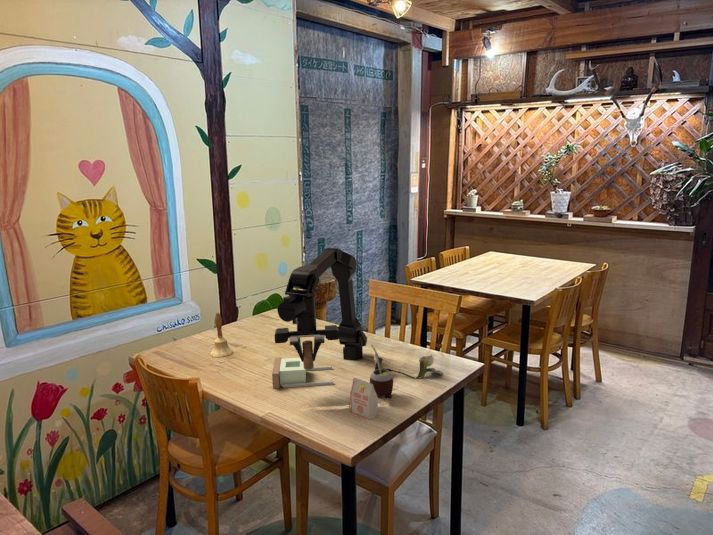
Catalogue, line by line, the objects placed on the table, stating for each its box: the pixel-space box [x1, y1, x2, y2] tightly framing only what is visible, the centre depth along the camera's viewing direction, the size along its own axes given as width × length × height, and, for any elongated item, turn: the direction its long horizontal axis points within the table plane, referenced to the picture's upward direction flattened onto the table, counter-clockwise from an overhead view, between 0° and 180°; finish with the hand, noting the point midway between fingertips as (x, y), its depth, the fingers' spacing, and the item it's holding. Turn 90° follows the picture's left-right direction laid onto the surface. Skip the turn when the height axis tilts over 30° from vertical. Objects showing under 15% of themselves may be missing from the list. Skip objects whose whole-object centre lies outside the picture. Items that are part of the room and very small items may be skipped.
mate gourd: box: [369, 344, 394, 400], centre depth 155 cm, size 8×8×15 cm
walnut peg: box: [301, 340, 315, 369], centre depth 155 cm, size 3×3×8 cm
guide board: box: [271, 357, 335, 389], centre depth 168 cm, size 20×13×6 cm, turn 95°
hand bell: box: [210, 312, 234, 358], centre depth 193 cm, size 8×8×16 cm
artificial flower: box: [374, 355, 444, 380], centre depth 170 cm, size 9×22×10 cm, turn 79°
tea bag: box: [349, 377, 378, 421], centre depth 146 cm, size 4×7×10 cm, turn 50°
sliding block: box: [279, 357, 307, 387], centre depth 168 cm, size 8×10×5 cm
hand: (308, 360), depth 155 cm, fingers closed on walnut peg, 3 cm apart
